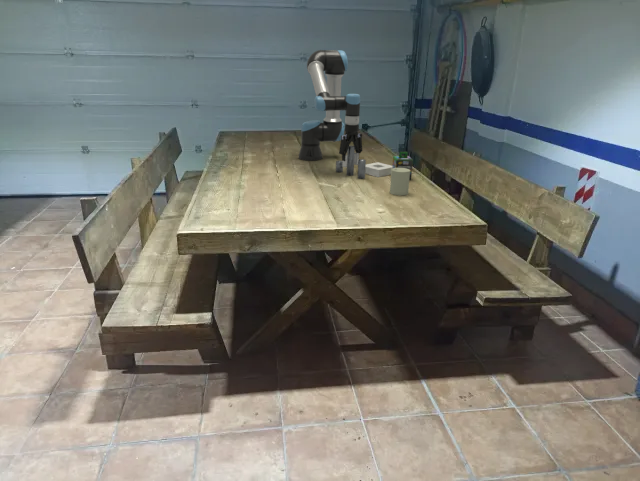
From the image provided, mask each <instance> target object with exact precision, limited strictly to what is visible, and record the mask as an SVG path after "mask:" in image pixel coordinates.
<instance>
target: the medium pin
mask: <svg viewBox="0 0 640 481" xmlns="http://www.w3.org/2000/svg"><path fill="white" fill-rule="evenodd" d="M366 160H367V159H364V158H362V159H361V158H359V159H358V165H357V179H358V180H365V179H366V174H365V166H366V164H367V161H366Z"/></svg>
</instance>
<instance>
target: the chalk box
mask: <svg viewBox="0 0 640 481" xmlns="http://www.w3.org/2000/svg"><path fill="white" fill-rule="evenodd" d="M408 154H409V152H408V151H399V155H394V156H392V166H393V167H392V169H393V168H407V169H409V170H410V177H409V181H411V180H412V174H413V173H412V172H413V161H414V160H413V158H412V157H411V156H409V155H408Z"/></svg>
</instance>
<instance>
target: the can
mask: <svg viewBox="0 0 640 481" xmlns="http://www.w3.org/2000/svg"><path fill="white" fill-rule="evenodd" d="M409 177H410V170H409V169H407V168H393V169H391V175H390V184H389V185H390V187H389V188H390V189H389V193H390V194H391V195H393V196H407V195H409V189H410V188H409V187H410V186H409V185H410V180H409Z"/></svg>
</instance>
